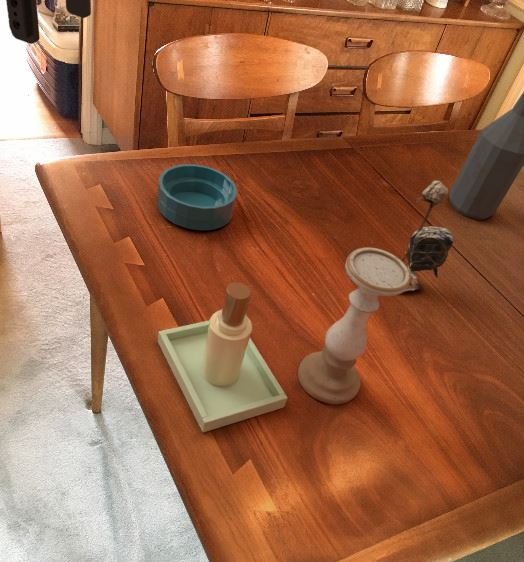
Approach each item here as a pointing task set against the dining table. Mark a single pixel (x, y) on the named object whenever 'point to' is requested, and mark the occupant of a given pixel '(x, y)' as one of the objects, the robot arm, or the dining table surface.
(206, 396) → the tray
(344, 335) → the candle holder
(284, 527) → the dining table surface
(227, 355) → the stoneware bottle
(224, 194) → the bowl
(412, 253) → the stone bird figurine
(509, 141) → the bottle
